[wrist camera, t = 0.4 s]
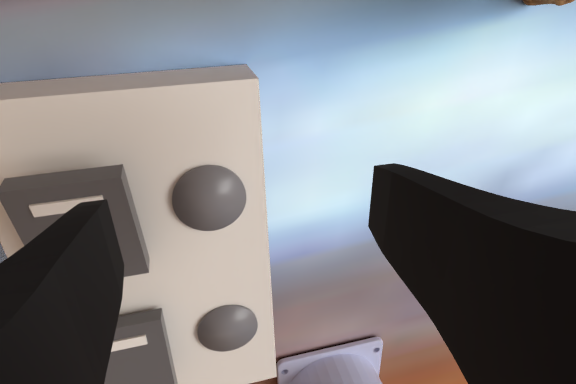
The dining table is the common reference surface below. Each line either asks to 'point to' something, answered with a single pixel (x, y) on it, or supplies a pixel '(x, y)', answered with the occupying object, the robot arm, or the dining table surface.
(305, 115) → the dining table surface
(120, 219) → the rocker
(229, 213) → the beige switch box
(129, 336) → the rocker
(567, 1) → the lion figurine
